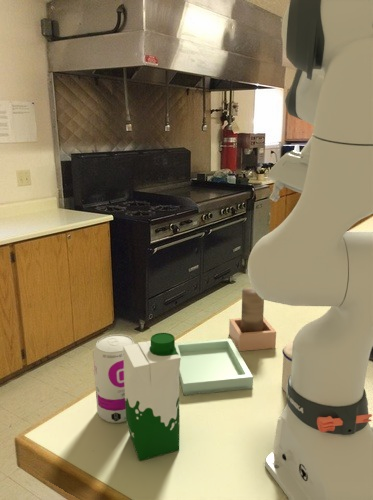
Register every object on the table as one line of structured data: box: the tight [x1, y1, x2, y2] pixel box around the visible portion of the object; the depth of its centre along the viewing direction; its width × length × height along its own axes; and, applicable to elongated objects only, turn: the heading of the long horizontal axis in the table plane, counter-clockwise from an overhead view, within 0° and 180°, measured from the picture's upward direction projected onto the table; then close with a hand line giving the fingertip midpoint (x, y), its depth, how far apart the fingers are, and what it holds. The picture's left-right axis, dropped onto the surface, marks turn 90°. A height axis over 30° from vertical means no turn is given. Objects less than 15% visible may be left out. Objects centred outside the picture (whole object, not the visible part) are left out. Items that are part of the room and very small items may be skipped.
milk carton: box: [123, 332, 181, 462], centre depth 73 cm, size 9×9×20 cm
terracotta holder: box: [228, 316, 277, 352], centre depth 112 cm, size 10×10×4 cm
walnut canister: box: [240, 287, 265, 333], centre depth 111 cm, size 6×6×14 cm
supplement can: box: [92, 333, 136, 424], centre depth 82 cm, size 8×8×15 cm
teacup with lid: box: [281, 341, 293, 393], centre depth 91 cm, size 12×9×12 cm
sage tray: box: [175, 338, 254, 396], centre depth 98 cm, size 18×15×3 cm
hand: (285, 205), depth 103 cm, fingers open, 8 cm apart
